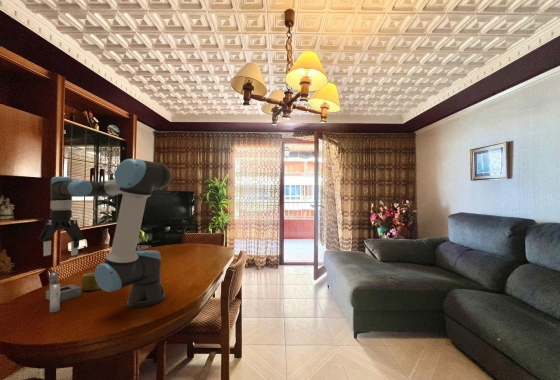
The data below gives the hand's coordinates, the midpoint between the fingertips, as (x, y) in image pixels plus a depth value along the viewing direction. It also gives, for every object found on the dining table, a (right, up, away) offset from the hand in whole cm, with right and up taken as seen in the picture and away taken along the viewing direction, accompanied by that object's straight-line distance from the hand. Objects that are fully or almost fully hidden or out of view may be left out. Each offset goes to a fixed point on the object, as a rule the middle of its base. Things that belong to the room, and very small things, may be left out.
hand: (60, 255), depth 113 cm
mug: (+3, -23, +17) cm, 29 cm away
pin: (+6, -21, -10) cm, 24 cm away
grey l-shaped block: (-7, -22, +7) cm, 24 cm away
